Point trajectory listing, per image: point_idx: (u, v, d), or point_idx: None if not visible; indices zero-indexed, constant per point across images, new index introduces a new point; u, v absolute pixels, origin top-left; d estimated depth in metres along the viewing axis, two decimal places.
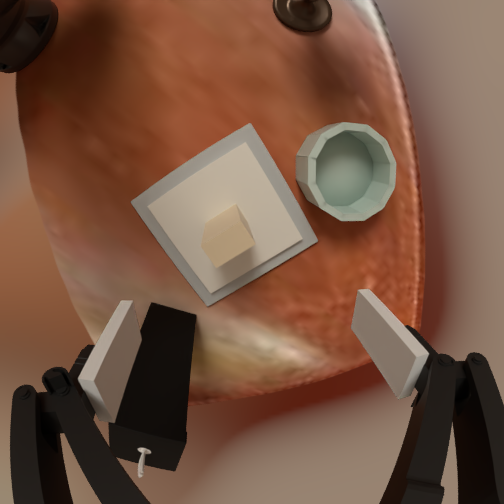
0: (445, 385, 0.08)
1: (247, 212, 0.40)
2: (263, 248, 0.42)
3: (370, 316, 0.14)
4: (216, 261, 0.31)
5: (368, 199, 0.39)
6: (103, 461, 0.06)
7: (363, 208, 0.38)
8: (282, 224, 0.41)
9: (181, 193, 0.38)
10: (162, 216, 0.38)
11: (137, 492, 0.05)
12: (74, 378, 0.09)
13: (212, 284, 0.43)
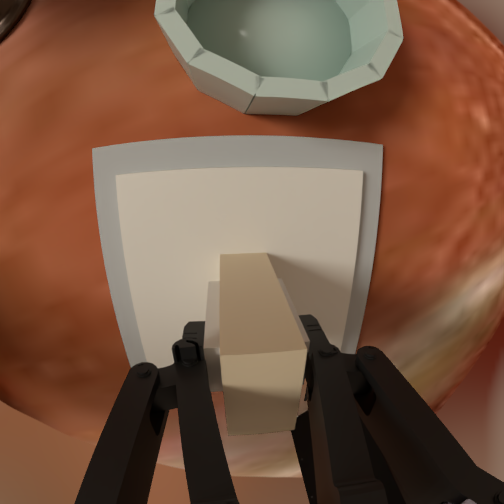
0: (336, 376, 0.10)
1: (249, 242, 0.18)
2: (332, 252, 0.19)
3: None
4: (280, 426, 0.11)
5: (361, 11, 0.12)
6: (207, 437, 0.07)
7: (375, 24, 0.11)
8: (314, 191, 0.18)
9: (153, 326, 0.20)
10: None
11: (228, 474, 0.06)
12: None
13: None
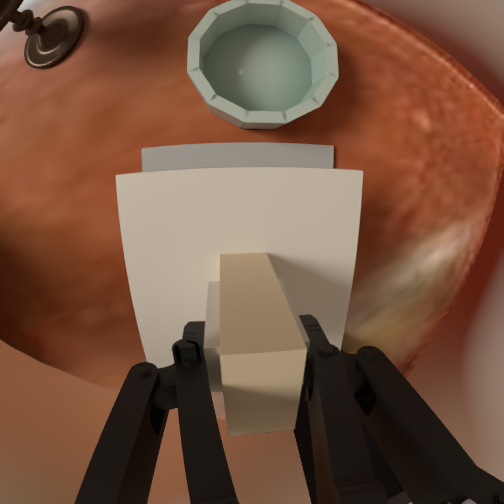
0: (335, 376, 0.10)
1: (249, 242, 0.19)
2: (332, 252, 0.19)
3: None
4: (280, 425, 0.11)
5: (316, 56, 0.23)
6: (207, 437, 0.07)
7: (322, 67, 0.22)
8: (314, 192, 0.18)
9: (153, 326, 0.20)
10: None
11: (228, 474, 0.06)
12: None
13: None
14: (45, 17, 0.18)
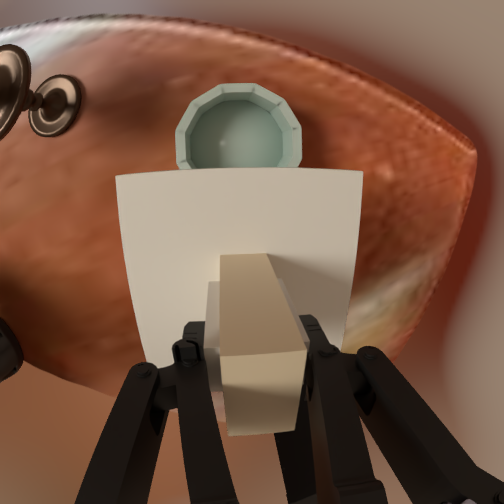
0: (335, 376, 0.10)
1: (249, 243, 0.19)
2: (332, 253, 0.19)
3: None
4: (280, 426, 0.11)
5: (286, 133, 0.31)
6: (207, 437, 0.07)
7: (289, 148, 0.30)
8: (314, 192, 0.18)
9: (153, 326, 0.20)
10: None
11: (228, 474, 0.06)
12: None
13: None
14: (43, 84, 0.26)
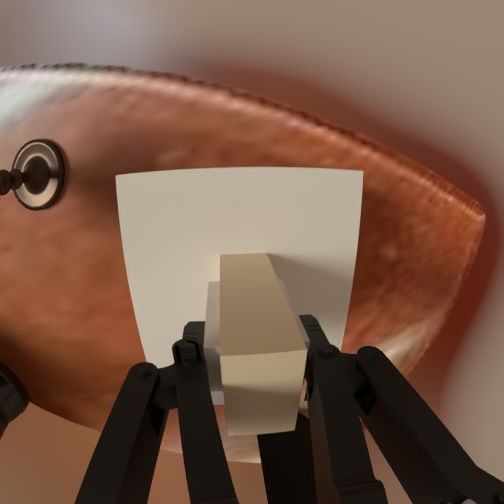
0: (336, 376, 0.10)
1: (249, 243, 0.18)
2: (332, 252, 0.19)
3: None
4: (280, 426, 0.11)
5: None
6: (207, 436, 0.07)
7: None
8: (314, 192, 0.18)
9: (153, 326, 0.20)
10: None
11: (228, 474, 0.06)
12: None
13: None
14: (23, 148, 0.25)
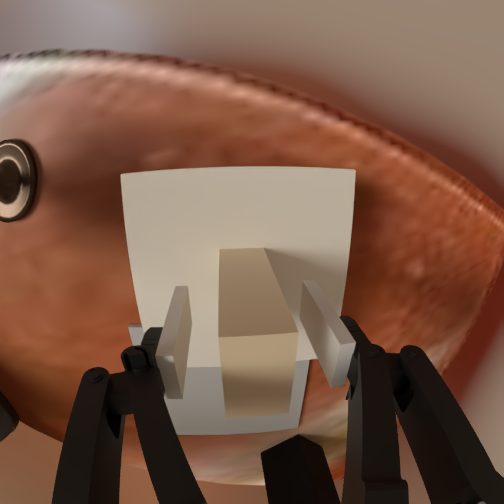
0: (378, 376, 0.09)
1: (247, 238, 0.20)
2: (326, 247, 0.20)
3: (310, 305, 0.16)
4: (275, 409, 0.12)
5: None
6: (166, 443, 0.07)
7: None
8: (308, 190, 0.19)
9: (155, 318, 0.21)
10: None
11: (192, 478, 0.06)
12: None
13: None
14: None
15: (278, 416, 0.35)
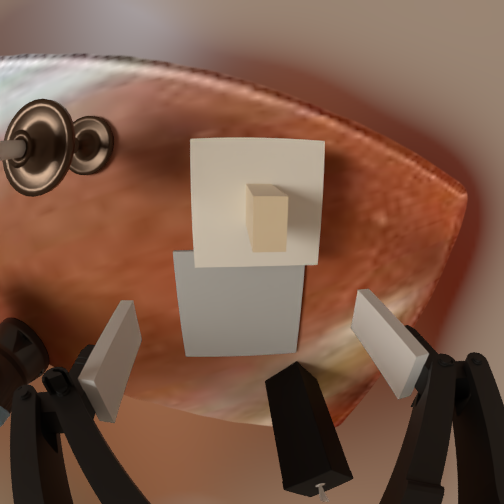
0: (445, 385, 0.08)
1: (262, 177, 0.33)
2: (308, 186, 0.34)
3: (370, 316, 0.14)
4: (278, 246, 0.26)
5: None
6: (103, 461, 0.06)
7: None
8: (297, 151, 0.33)
9: (202, 229, 0.35)
10: (213, 260, 0.36)
11: (137, 492, 0.05)
12: (74, 378, 0.09)
13: (310, 257, 0.37)
14: (75, 123, 0.33)
15: (280, 337, 0.49)
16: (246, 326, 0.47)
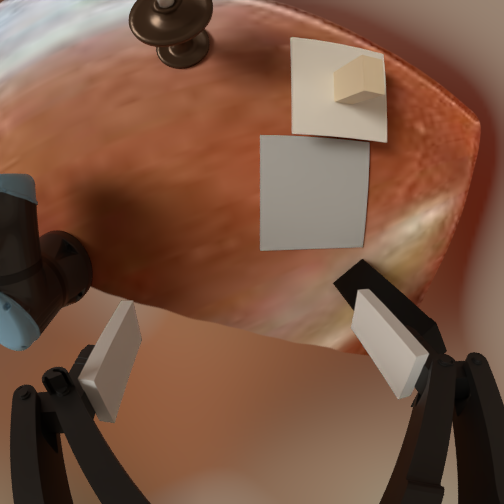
0: (445, 385, 0.08)
1: None
2: None
3: (370, 316, 0.14)
4: (380, 90, 0.28)
5: None
6: (103, 461, 0.06)
7: None
8: None
9: (301, 101, 0.37)
10: (308, 127, 0.39)
11: (137, 492, 0.05)
12: (74, 378, 0.09)
13: (381, 135, 0.40)
14: None
15: (350, 227, 0.51)
16: (321, 213, 0.50)
